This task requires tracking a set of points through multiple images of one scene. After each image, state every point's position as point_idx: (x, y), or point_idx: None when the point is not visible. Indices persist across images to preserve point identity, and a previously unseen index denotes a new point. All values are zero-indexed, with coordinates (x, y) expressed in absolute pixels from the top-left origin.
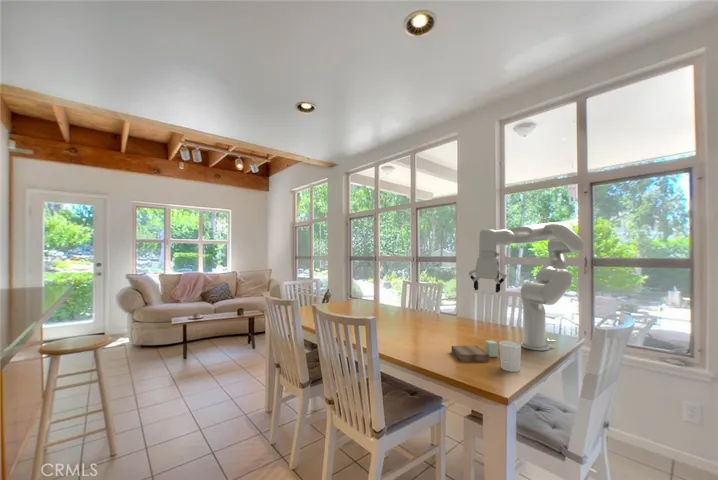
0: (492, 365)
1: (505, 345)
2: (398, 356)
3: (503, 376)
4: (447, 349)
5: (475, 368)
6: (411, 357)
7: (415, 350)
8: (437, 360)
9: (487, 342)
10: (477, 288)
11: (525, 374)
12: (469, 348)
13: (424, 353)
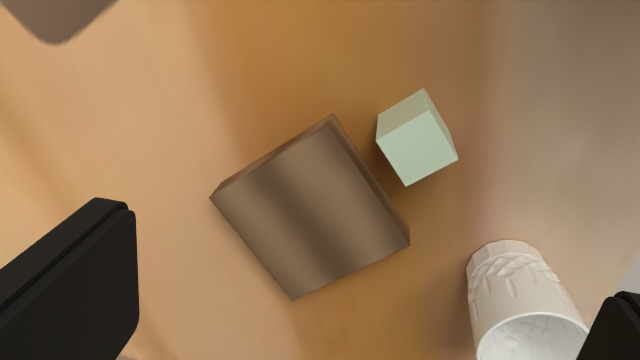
0: (428, 264)
1: (507, 304)
2: None
3: (474, 351)
4: (187, 147)
5: (366, 321)
6: None
7: None
8: (212, 303)
9: (394, 167)
10: (120, 272)
11: None
12: (303, 198)
13: None
